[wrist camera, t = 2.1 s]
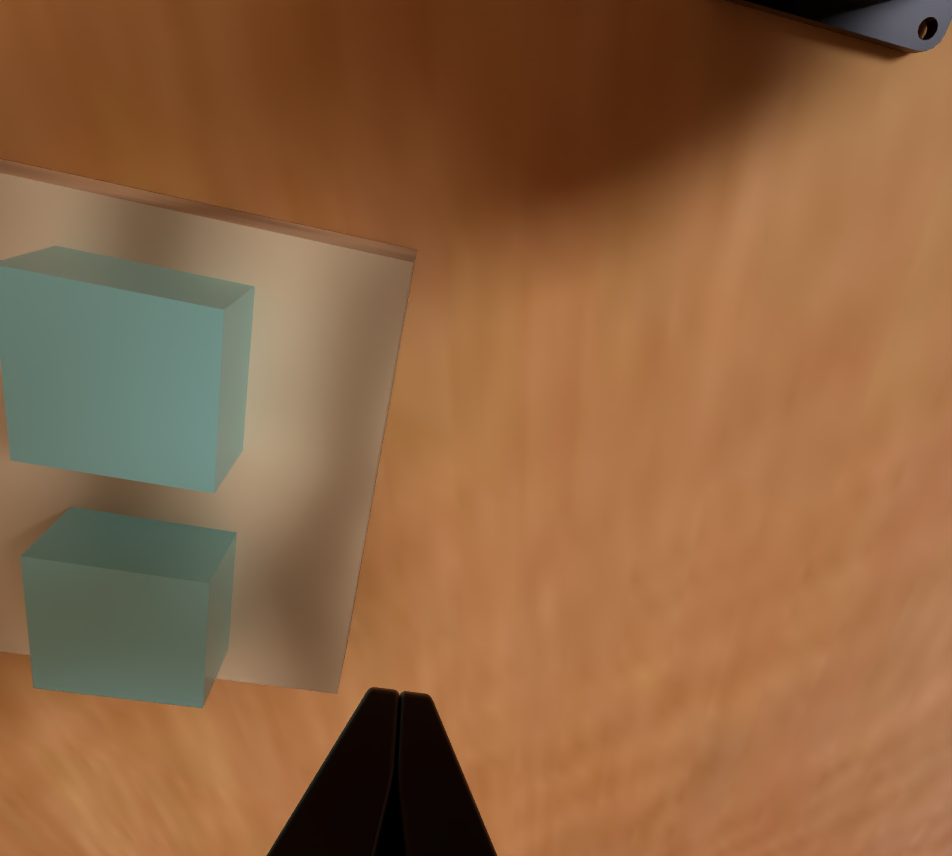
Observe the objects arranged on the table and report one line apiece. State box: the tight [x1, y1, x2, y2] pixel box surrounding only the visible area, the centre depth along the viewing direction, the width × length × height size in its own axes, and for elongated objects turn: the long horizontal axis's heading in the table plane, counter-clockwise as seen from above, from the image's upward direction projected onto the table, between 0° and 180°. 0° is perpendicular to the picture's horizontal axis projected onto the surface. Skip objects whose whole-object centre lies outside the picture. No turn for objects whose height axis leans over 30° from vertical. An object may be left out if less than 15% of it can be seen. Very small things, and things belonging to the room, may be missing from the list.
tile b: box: [20, 507, 237, 708], centre depth 19 cm, size 5×5×2 cm
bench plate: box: [0, 159, 417, 694], centre depth 20 cm, size 14×16×2 cm
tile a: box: [0, 246, 255, 493], centre depth 16 cm, size 5×5×2 cm
